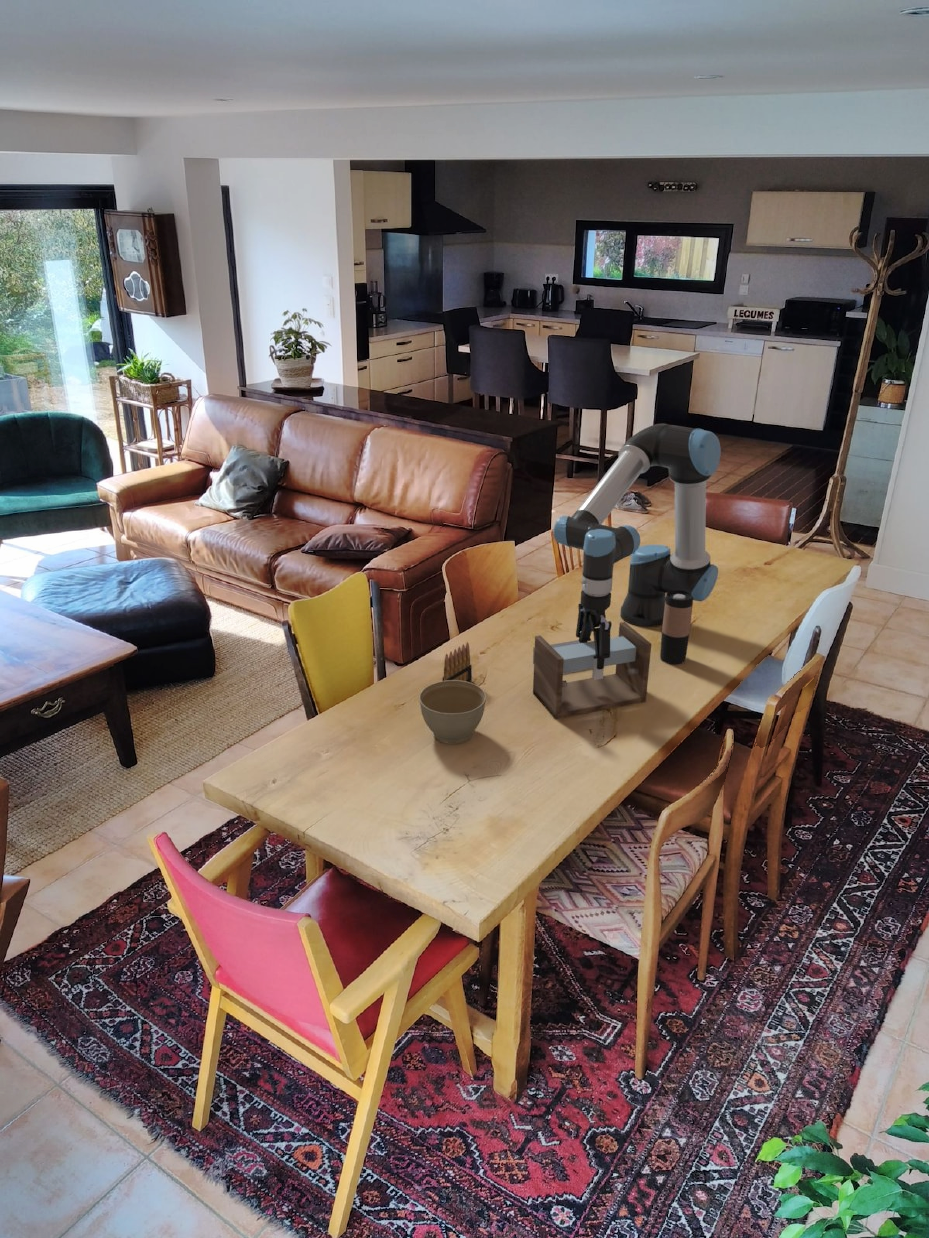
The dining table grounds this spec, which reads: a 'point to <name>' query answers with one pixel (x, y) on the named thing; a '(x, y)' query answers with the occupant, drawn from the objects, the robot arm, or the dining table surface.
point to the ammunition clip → (458, 665)
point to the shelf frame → (590, 680)
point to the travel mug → (676, 626)
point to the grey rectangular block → (560, 645)
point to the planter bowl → (452, 709)
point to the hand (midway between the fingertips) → (590, 671)
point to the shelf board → (582, 654)
